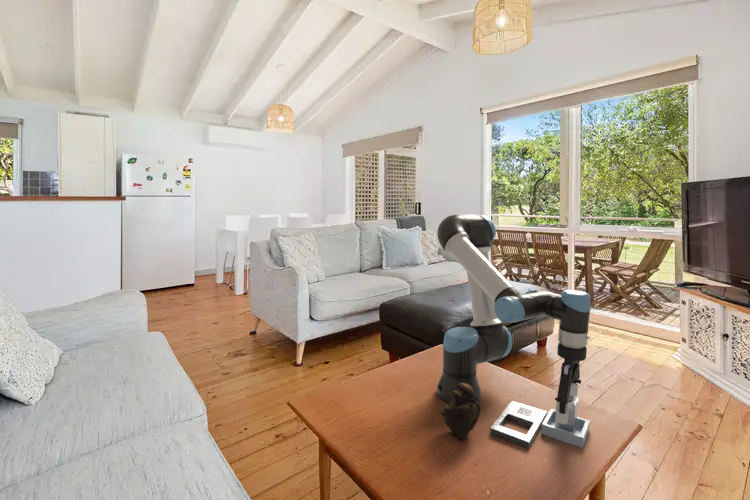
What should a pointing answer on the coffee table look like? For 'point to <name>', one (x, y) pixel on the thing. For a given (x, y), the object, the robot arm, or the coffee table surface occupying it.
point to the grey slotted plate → (522, 416)
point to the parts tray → (563, 435)
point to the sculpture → (461, 411)
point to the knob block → (569, 415)
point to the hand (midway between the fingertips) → (566, 412)
